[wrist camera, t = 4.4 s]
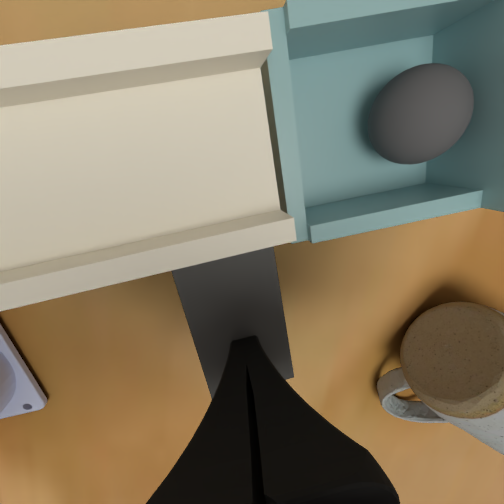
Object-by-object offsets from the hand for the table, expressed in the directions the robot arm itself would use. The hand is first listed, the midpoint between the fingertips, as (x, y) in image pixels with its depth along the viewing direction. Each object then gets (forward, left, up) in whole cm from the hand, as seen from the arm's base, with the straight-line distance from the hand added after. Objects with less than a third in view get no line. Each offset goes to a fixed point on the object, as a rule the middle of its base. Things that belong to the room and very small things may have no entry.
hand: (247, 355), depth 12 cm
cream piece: (-5, +5, -1) cm, 7 cm away
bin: (+8, +8, -5) cm, 13 cm away
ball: (+10, +8, -3) cm, 13 cm away
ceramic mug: (+14, -8, -6) cm, 17 cm away
